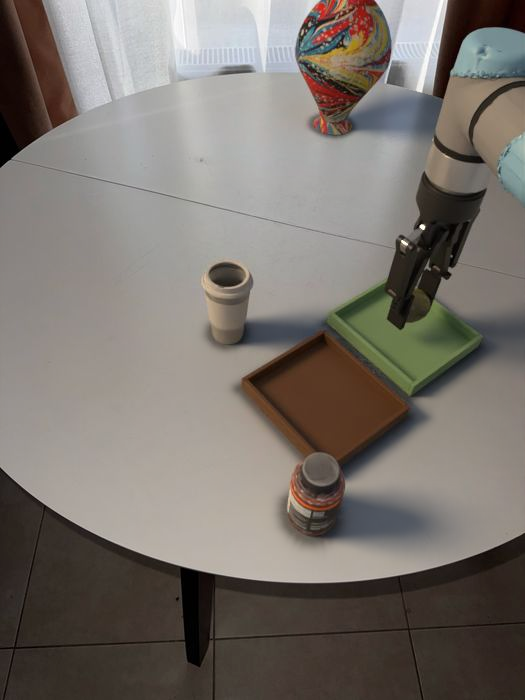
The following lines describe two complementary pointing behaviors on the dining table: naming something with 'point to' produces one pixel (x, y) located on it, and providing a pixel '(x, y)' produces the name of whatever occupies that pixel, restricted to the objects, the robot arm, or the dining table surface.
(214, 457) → the dining table surface
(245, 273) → the cup
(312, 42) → the vase
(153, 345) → the dining table surface
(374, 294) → the green tray
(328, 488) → the supplement bottle
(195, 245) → the dining table surface
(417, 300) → the lime
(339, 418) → the walnut tray
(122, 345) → the dining table surface
